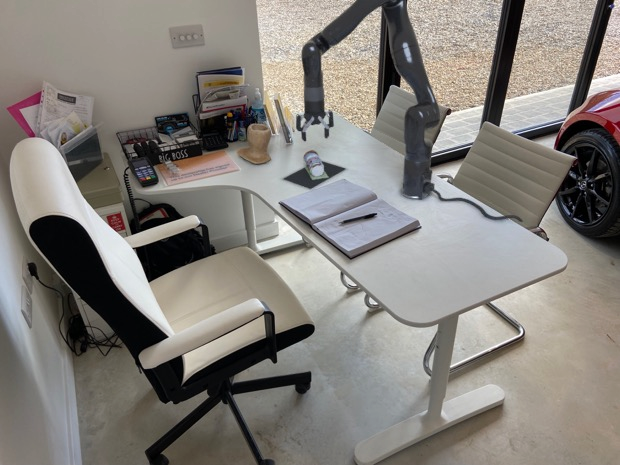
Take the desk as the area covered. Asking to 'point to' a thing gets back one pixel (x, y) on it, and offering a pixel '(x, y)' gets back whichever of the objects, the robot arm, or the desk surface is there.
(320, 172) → the beverage can
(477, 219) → the desk surface
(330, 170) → the desk mat
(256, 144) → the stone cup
